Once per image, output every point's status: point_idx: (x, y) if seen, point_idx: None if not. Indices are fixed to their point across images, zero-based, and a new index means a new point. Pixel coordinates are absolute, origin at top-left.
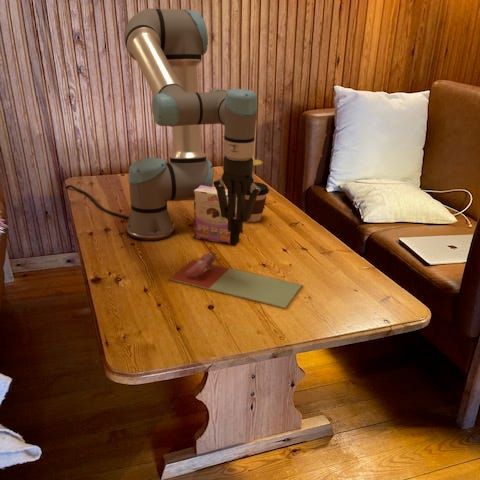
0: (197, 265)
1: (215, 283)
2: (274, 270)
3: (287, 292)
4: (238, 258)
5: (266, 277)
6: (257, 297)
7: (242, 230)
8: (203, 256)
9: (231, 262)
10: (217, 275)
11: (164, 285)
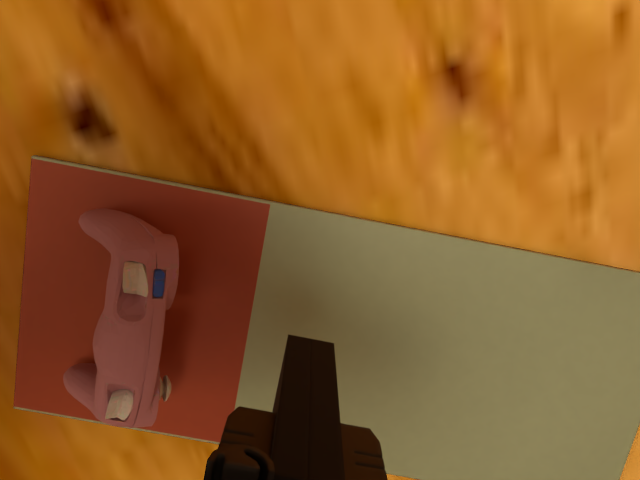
0: (110, 423)
1: (244, 390)
2: (526, 131)
3: (614, 380)
4: (283, 26)
5: (493, 252)
6: (472, 464)
7: (379, 444)
8: (109, 371)
9: (255, 100)
10: (227, 305)
11: (15, 456)
